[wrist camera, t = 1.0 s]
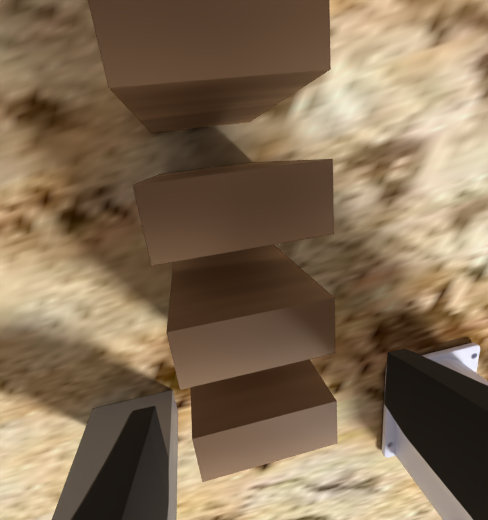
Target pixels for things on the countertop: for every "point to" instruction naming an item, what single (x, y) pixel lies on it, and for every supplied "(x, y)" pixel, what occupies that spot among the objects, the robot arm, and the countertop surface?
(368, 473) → the countertop surface
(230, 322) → the domino
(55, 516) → the domino
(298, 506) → the countertop surface
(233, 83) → the domino
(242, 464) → the domino
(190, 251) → the domino
